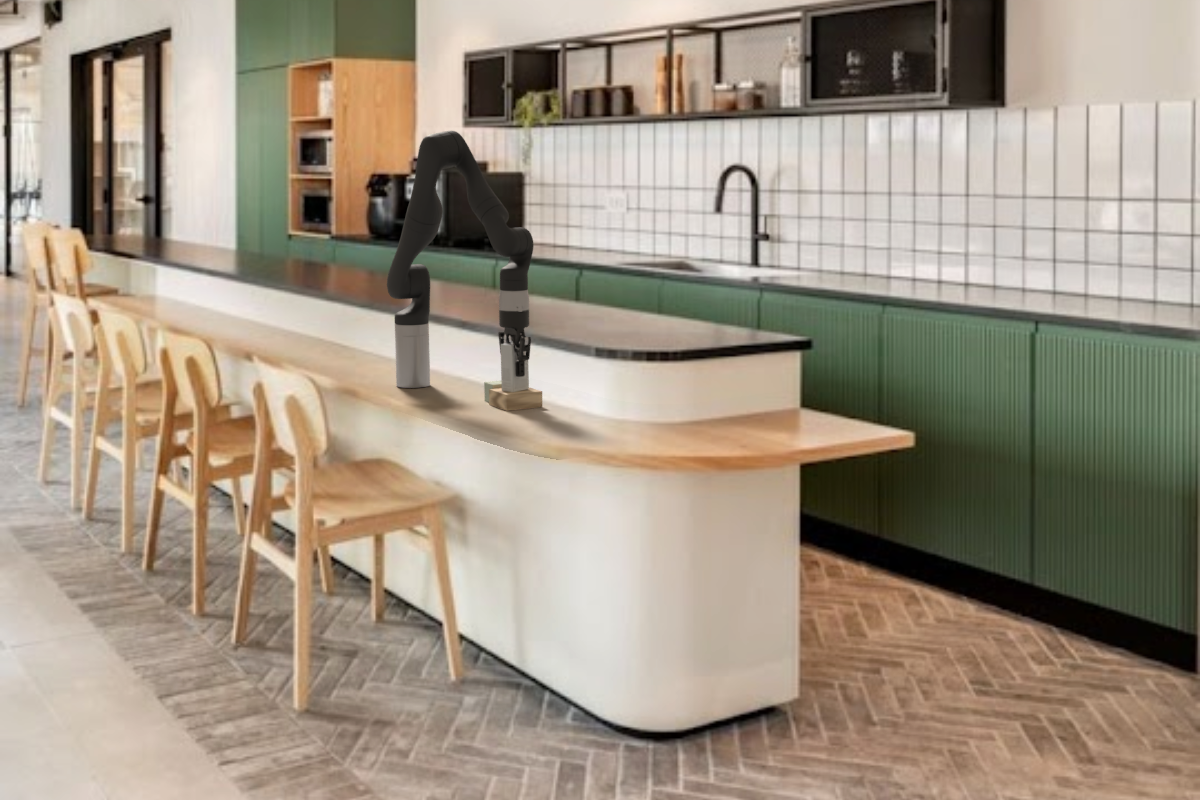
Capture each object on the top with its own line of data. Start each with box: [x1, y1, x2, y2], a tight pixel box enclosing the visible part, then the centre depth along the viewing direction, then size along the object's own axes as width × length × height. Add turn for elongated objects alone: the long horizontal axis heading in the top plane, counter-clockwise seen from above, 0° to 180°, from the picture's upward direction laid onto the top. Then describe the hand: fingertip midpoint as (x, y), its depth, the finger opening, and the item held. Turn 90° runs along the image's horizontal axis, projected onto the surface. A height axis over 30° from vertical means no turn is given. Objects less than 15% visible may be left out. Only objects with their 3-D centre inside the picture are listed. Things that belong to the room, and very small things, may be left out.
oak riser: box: [488, 387, 543, 412], centre depth 370 cm, size 10×10×4 cm
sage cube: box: [483, 380, 502, 403], centre depth 376 cm, size 5×5×5 cm
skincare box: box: [500, 343, 530, 392], centre depth 368 cm, size 6×4×12 cm
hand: (514, 374), depth 369 cm, fingers closed on skincare box, 5 cm apart
